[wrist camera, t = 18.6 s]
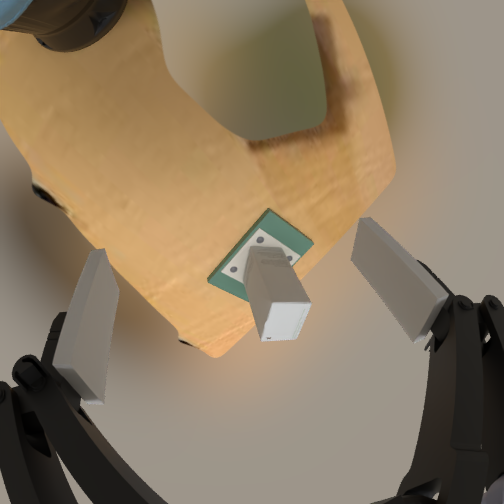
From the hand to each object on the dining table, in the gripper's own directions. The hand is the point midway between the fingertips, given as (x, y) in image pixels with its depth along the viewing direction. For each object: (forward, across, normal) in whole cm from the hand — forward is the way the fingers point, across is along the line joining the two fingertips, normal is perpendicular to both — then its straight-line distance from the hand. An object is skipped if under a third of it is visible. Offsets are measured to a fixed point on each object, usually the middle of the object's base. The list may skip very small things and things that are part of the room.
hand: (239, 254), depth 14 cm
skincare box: (+30, +9, -24) cm, 40 cm away
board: (+32, +9, -24) cm, 41 cm away
